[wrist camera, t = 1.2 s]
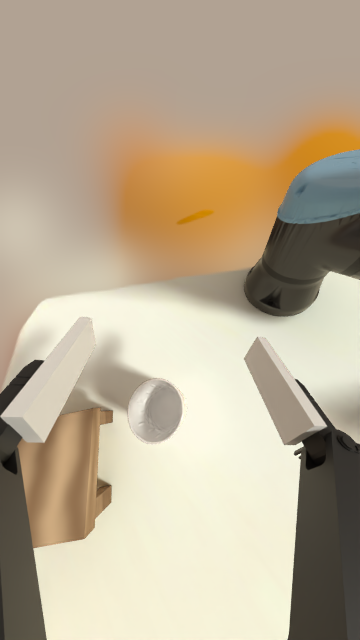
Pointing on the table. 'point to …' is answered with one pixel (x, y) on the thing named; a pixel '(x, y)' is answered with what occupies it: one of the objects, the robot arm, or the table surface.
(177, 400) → the white cup
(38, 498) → the stool
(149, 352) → the table surface
